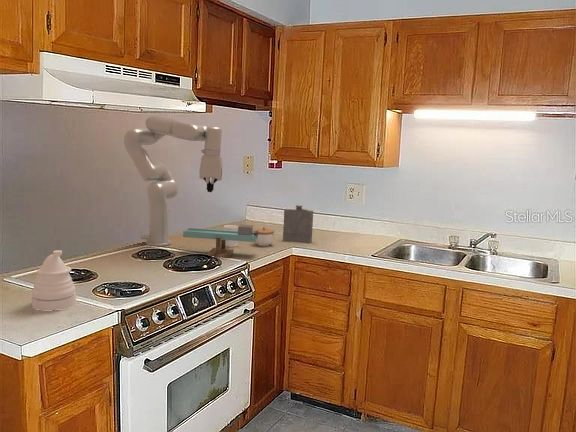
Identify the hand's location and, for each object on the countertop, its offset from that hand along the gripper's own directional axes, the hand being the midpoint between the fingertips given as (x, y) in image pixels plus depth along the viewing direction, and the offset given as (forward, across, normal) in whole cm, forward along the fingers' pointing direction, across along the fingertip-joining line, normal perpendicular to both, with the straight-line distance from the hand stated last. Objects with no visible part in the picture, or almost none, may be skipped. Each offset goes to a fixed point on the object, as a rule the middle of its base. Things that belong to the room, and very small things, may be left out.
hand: (209, 191), depth 245 cm
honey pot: (+29, -28, -88) cm, 96 cm away
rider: (+18, +19, -5) cm, 27 cm away
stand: (+29, +8, -5) cm, 30 cm away
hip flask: (+28, +42, +35) cm, 61 cm away
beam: (+22, +8, -5) cm, 24 cm away
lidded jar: (+28, +25, +21) cm, 43 cm away
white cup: (+29, +9, +15) cm, 34 cm away
